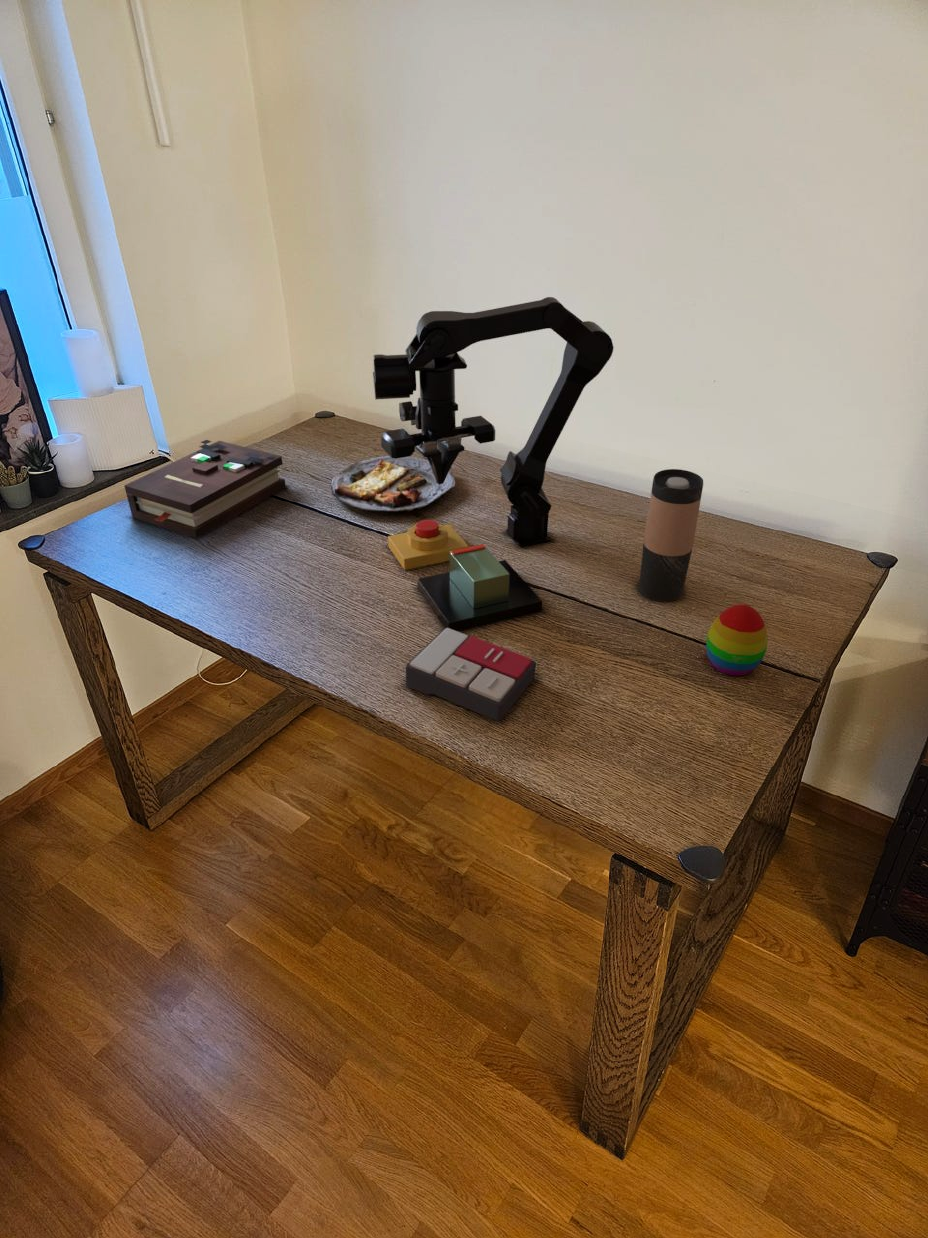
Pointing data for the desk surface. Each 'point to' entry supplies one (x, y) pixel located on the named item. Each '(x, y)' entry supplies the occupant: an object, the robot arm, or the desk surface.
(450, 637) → the calculator
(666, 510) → the travel mug
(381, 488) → the food plate
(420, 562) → the button block
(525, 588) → the black square platform
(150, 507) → the decorative book
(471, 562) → the box
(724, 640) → the decorative egg
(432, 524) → the button
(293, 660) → the desk surface
